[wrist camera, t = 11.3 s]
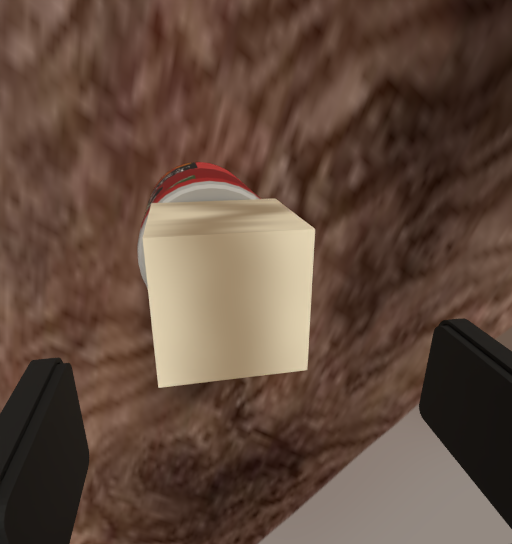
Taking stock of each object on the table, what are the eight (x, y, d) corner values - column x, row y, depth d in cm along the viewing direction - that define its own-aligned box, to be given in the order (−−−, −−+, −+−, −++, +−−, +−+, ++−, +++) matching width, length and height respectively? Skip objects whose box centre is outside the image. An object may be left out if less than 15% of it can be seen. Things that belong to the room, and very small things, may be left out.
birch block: (275, 198, 20) (315, 229, 14) (273, 306, 22) (307, 370, 16) (151, 202, 19) (142, 238, 13) (162, 316, 21) (158, 387, 15)
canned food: (174, 141, 28) (175, 153, 18) (269, 192, 31) (317, 227, 21) (131, 234, 30) (110, 293, 20) (225, 275, 32) (248, 345, 22)
